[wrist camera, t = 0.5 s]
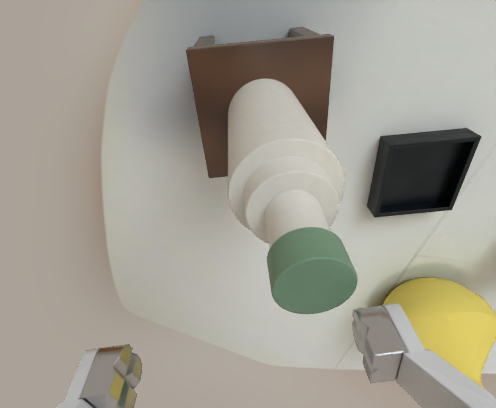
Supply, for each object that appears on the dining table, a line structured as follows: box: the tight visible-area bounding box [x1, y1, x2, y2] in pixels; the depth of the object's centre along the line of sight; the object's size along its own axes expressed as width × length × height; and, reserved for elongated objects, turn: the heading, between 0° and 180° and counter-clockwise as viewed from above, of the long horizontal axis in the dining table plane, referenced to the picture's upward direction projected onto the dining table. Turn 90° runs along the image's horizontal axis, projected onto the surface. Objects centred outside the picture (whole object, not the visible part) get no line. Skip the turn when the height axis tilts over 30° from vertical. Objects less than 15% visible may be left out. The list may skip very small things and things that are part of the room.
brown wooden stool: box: [186, 27, 334, 178], centre depth 29 cm, size 11×11×10 cm
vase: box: [383, 278, 496, 388], centre depth 49 cm, size 18×18×19 cm
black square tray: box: [367, 128, 481, 217], centre depth 39 cm, size 11×11×3 cm
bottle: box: [228, 79, 357, 314], centre depth 18 cm, size 6×6×18 cm
